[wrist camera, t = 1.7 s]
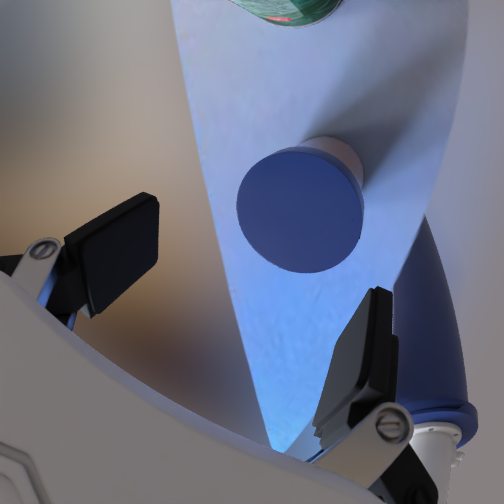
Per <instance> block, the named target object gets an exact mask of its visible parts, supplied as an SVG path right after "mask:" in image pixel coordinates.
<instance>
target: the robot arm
mask: <svg viewBox="0 0 504 504" xmlns="http://www.w3.org/2000/svg"><path fill="white" fill-rule="evenodd" d="M158 230H159V202H158V201H157V198H156V197H155V196H153V195H151V194H148V193H145V192H141V193H139V194H137V195H136V196H134V197H132V198H130V199H128V200H126V201H124V202H123V203H121V204H119V205H117V206H116V207H114V208H112V209H110V210H108V211H107V212H105V213H103V214H101V215H100V216H98V217H97V218H94V219H93V220H91V221H89V222H88V223H86V224H84V225H83V226H81V227H80V228H78V229H76V230H75V231H73V232H72V233H70V234H68V235H67V236H65V237H64V241H65V245H64V246H62V247H61V243H60V241H59V240H57V239H55V238H50V237H48V238H42V239H39V240H37V241H35V242H33V243H32V244H31V245H30V246H29V247H28V248H27V250H26V252H25V253H24V254H20V255H9V256H0V504H447V497H448V490H449V480H450V472H451V467H456V466H457V465H458V464H459V462H460V460H462V459H463V458H464V455H465V454H464V453H463V452H457V451H456V445H457V444H458V443H459V442H460V440H461V437H462V432H461V429H460V427H458V426H457V425H455V424H453V423H449V422H425V423H419V424H415V425H414V422H413V419H412V417H411V415H410V414H409V412H408V411H407V410H406V409H405V408H404V407H403V406H401V405H399V404H397V403H395V395H396V383H397V368H398V346H399V341H398V337H397V336H395V335H393V334H392V318H393V294H392V292H391V291H388V290H386V289H384V288H381V287H379V286H377V287H376V288H375V289H372V288H370V289H369V290H368V291H367V293H366V295H365V297H364V298H363V300H362V302H361V303H360V305H359V307H358V308H357V310H356V311H355V313H354V315H353V316H352V318H351V319H350V321H349V323H348V324H347V326H346V327H345V329H344V330H343V332H342V334H341V335H340V337H339V338H338V340H337V342H336V345H335V348H334V351H333V355H332V359H331V363H330V367H329V370H328V374H327V377H326V381H325V384H324V388H323V391H322V394H321V398H320V401H319V404H318V407H317V410H316V414H315V417H314V420H313V423H312V425H313V426H314V427H316V430H315V433H314V436H317V437H319V438H321V440H320V445H321V447H322V449H321V450H319V451H318V452H317V453H316V454H314V455H313V456H311V457H310V458H309V459H307V460H306V461H302V460H299V459H296V458H294V457H291V456H288V455H286V454H283V453H280V452H278V451H275V450H273V449H270V448H268V447H265V446H263V445H261V444H258V443H256V442H254V441H251V440H249V439H247V438H245V437H242V436H240V435H238V434H236V433H233V432H231V431H229V430H227V429H225V428H223V427H221V426H218V425H216V424H214V423H212V422H210V421H208V420H206V419H204V418H203V417H200V416H199V415H197V414H195V413H193V412H191V411H189V410H187V409H185V408H184V407H182V406H180V405H178V404H177V403H175V402H173V401H171V400H170V399H168V398H166V397H165V396H163V395H161V394H160V393H158V392H156V391H155V390H153V389H151V388H150V387H148V386H147V385H145V384H143V383H142V382H140V381H139V380H137V379H135V378H134V377H133V376H131V375H130V374H128V373H127V372H125V371H124V370H122V369H121V368H119V367H118V366H117V365H115V364H114V363H112V362H111V361H109V360H108V359H107V358H105V357H104V356H103V355H101V354H100V353H99V352H97V351H96V350H94V349H93V348H92V347H91V346H89V345H88V344H87V343H85V342H84V341H83V340H82V339H80V338H79V337H78V336H77V335H75V334H74V333H73V332H72V330H73V327H74V323H75V319H76V316H77V311H78V310H80V309H81V310H82V312H83V313H84V314H85V315H86V316H88V317H89V318H92V317H94V316H95V315H96V314H100V313H101V312H102V311H104V310H105V309H106V308H107V307H108V306H109V305H110V304H111V303H112V302H113V301H115V300H116V299H117V298H118V297H119V296H120V295H121V294H122V293H123V292H125V291H126V290H127V289H128V288H129V287H130V286H131V285H132V284H134V283H135V282H136V281H137V280H138V279H139V278H140V277H142V276H143V275H144V274H145V273H146V272H147V271H148V270H150V269H151V268H152V267H153V266H154V265H155V264H156V262H157V259H158V233H159V231H158Z"/></svg>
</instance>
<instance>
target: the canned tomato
mask: <svg viewBox="0 0 504 504" xmlns="http://www.w3.org/2000/svg"><path fill="white" fill-rule="evenodd" d="M230 1H232V2H233V3H235V4H237V5H238V6H241V7H242V8H244V9H246V10H247V11H249V12H251V13H252V14H254V15H256V16H258V17H259V18H260V19H261V20H263V21H265V22H267V23H269V24H272V25H275V26H278V27H284V28H301V27H307V26H310V25H314V24H316V23H318V22H320V21H322V20H324V19H326V18H327V17H328V16H330V15H331V14H332V13H333V12H334V11H335V9H336V8H337V7H338V5H339V3H340V1H341V0H230Z"/></svg>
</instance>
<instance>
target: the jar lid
mask: <svg viewBox="0 0 504 504" xmlns="http://www.w3.org/2000/svg"><path fill="white" fill-rule="evenodd" d="M236 210H237V217H238V221H239V225H240V227H241V230H242V232H243V234H244V236H245V238H246V240H247V241H248V243H249V244H250V245H251V246H252V248H253V249H254V250H255V251H256V252H257V253H258V254H259V255H260V256H261V257H263V258H264V259H265V260H267V261H268V262H270V263H271V264H273V265H275V266H277V267H279V268H282V269H285V270H287V271H292V272H297V273H316V272H321V271H325V270H327V269H330V268H332V267H334V266H336V265H338V264H339V263H341V262H342V261H343V260H344V259H345V258H347V257H348V256H349V255H350V253H351V252H352V251H353V249H354V248H355V246H356V244H357V242H358V240H359V239H360V235H361V230H362V224H363V216H364V201H363V195H362V191H361V189H360V186H359V184H358V182H357V180H356V178H355V176H354V175H353V174H352V172H351V171H350V169H349V168H348V167H347V166H346V165H345V164H344V163H343V162H341V161H340V160H339V159H338V158H336V157H334V156H333V155H331V154H329V153H327V152H325V151H323V150H320V149H316V148H312V147H304V146H297V147H289V148H285V149H282V150H279V151H277V152H275V153H273V154H271V155H269V156H267V157H266V158H264V159H262V160H261V161H259V162H258V163H256V164H255V165H254V166H253V167H252V168H251V169H250V170H249V171H248V173H247V174H246V175H245V177H244V179H243V180H242V182H241V185H240V187H239V191H238V194H237V202H236Z"/></svg>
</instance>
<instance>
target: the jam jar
mask: <svg viewBox="0 0 504 504" xmlns="http://www.w3.org/2000/svg"><path fill="white" fill-rule="evenodd" d="M297 146H304V147H312V148H316V149H320V150H323V151H325V152H327V153H329V154H331V155H333V156H334V157H336V158H338V159H339V160H340V161H341V162H343V163H344V164H345V165H346V166H347V167H348V168H349V169H350V171H351V172H352V174H353V175H354V176H355V178H356V180H357V182H358V184H359V186H360V189H361V191H362V188H363V181H364V171H363V166H362V163H361V160H360V158H359V157H358V155H357V153H356V152H355V151H354V150H353V149H352V148H351V147H350V146H349V145H348V144H347V143H345V142H343V141H342V140H339V139H337V138H334V137H329V136H318V137H313V138H310V139H308V140H306V141H304V142H302V143H301V144H299V145H297ZM297 146H295V147H297Z"/></svg>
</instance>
